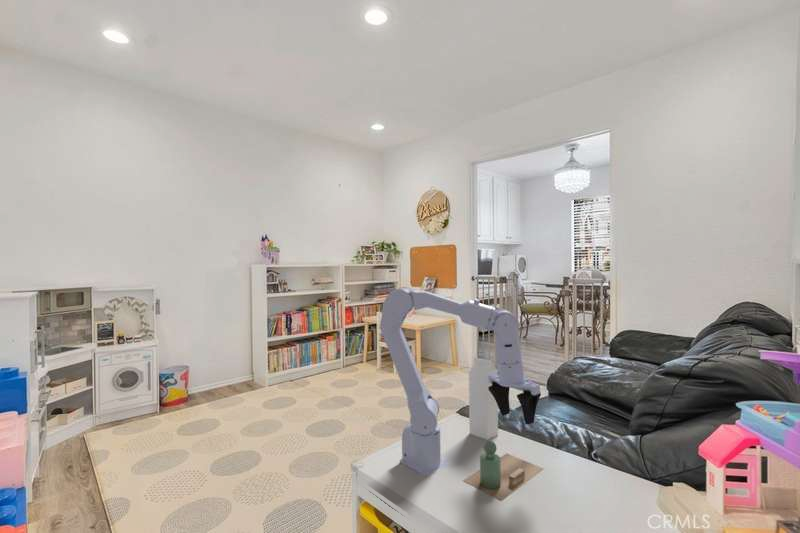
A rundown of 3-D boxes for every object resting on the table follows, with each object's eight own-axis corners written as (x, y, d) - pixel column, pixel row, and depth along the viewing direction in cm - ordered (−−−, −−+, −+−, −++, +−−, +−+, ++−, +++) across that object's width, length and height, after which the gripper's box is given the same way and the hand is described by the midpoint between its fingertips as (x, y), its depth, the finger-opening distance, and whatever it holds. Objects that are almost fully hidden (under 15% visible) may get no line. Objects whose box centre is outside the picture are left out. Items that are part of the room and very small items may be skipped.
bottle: (476, 483, 83) (475, 441, 83) (487, 476, 86) (487, 435, 86) (493, 492, 80) (492, 448, 80) (504, 484, 83) (504, 441, 83)
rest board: (462, 483, 84) (462, 472, 84) (506, 455, 96) (506, 446, 96) (501, 503, 77) (501, 492, 77) (543, 471, 89) (543, 460, 89)
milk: (487, 442, 104) (486, 362, 104) (469, 435, 108) (468, 359, 108) (498, 434, 108) (497, 358, 108) (480, 428, 112) (479, 355, 112)
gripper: (546, 361, 84) (554, 421, 84) (499, 353, 97) (507, 406, 97) (524, 369, 81) (532, 431, 81) (479, 360, 94) (486, 414, 93)
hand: (517, 418), depth 88 cm, fingers open, 7 cm apart
